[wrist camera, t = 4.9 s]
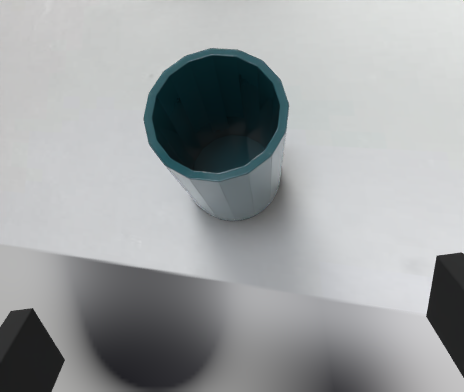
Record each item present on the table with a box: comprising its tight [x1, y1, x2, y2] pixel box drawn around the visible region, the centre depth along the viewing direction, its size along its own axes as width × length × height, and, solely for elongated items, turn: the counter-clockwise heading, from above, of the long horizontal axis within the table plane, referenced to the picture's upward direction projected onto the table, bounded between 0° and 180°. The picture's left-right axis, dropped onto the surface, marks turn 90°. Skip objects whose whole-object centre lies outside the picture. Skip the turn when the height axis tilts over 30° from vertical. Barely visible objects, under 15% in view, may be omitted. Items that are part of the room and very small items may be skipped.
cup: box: [144, 48, 289, 221], centre depth 24 cm, size 7×7×11 cm
